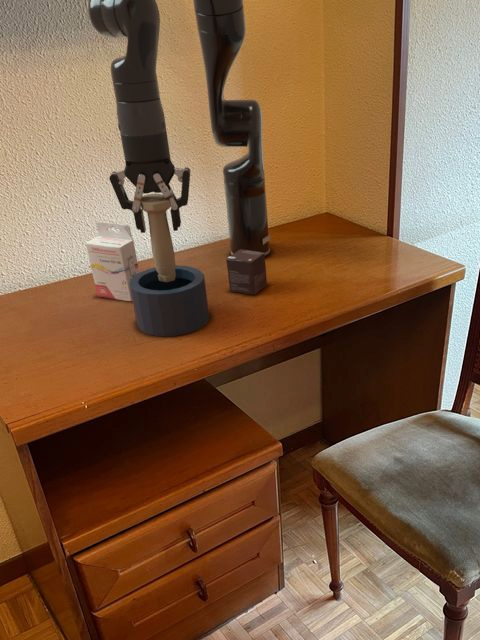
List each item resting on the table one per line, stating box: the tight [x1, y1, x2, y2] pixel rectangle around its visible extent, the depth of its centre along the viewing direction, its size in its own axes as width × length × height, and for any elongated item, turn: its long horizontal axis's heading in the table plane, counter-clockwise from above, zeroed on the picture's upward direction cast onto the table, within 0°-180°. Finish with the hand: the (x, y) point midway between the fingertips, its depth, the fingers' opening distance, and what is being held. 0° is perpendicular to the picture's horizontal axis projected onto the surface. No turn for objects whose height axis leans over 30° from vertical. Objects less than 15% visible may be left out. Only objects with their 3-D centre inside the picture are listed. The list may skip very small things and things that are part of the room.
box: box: [225, 249, 268, 296], centre depth 139 cm, size 6×6×7 cm
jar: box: [129, 264, 210, 337], centre depth 126 cm, size 14×14×8 cm
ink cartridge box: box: [85, 221, 140, 302], centre depth 135 cm, size 9×5×15 cm, turn 71°
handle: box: [140, 193, 176, 282], centre depth 120 cm, size 5×6×15 cm
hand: (159, 230), depth 119 cm, fingers closed on handle, 5 cm apart
